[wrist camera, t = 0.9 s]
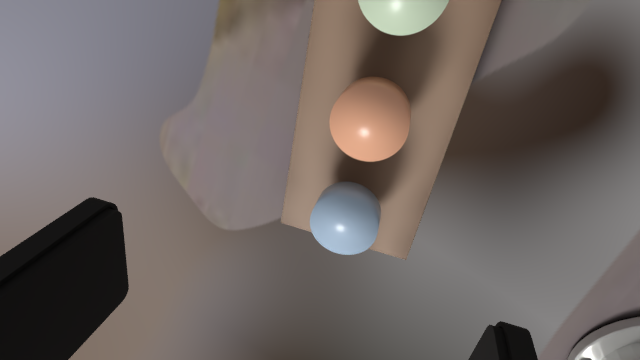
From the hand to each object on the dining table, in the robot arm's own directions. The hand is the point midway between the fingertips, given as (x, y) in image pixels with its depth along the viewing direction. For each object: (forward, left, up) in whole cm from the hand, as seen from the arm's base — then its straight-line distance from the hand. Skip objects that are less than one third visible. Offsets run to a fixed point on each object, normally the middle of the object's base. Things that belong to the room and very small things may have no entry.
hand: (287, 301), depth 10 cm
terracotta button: (0, 0, -16) cm, 16 cm away
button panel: (0, 0, -21) cm, 21 cm away
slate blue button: (0, +7, -16) cm, 17 cm away
